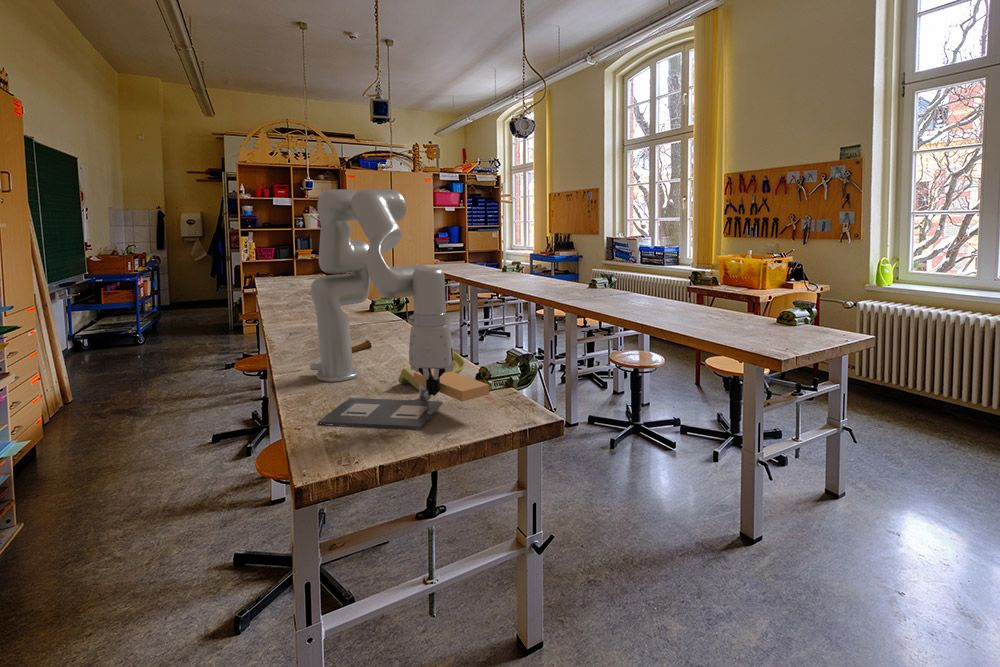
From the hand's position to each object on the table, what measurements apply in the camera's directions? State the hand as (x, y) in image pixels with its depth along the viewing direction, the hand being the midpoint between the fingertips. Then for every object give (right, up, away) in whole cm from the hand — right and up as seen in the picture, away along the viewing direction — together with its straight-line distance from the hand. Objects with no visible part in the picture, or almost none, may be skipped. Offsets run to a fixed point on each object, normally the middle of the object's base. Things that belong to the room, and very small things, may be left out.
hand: (433, 393), depth 140 cm
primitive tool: (-39, +7, +69) cm, 80 cm away
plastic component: (-3, 0, +32) cm, 32 cm away
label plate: (-13, -5, +7) cm, 15 cm away
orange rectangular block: (+2, +1, +6) cm, 7 cm away
